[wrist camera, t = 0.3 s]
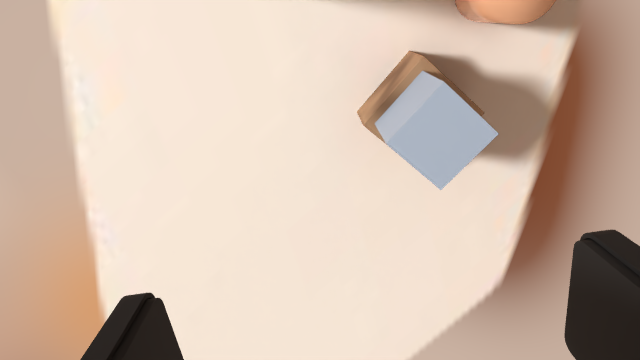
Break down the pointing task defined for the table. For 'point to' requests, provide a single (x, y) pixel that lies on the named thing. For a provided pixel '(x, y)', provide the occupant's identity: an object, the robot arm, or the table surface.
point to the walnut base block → (402, 89)
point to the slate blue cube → (434, 129)
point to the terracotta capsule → (503, 10)
